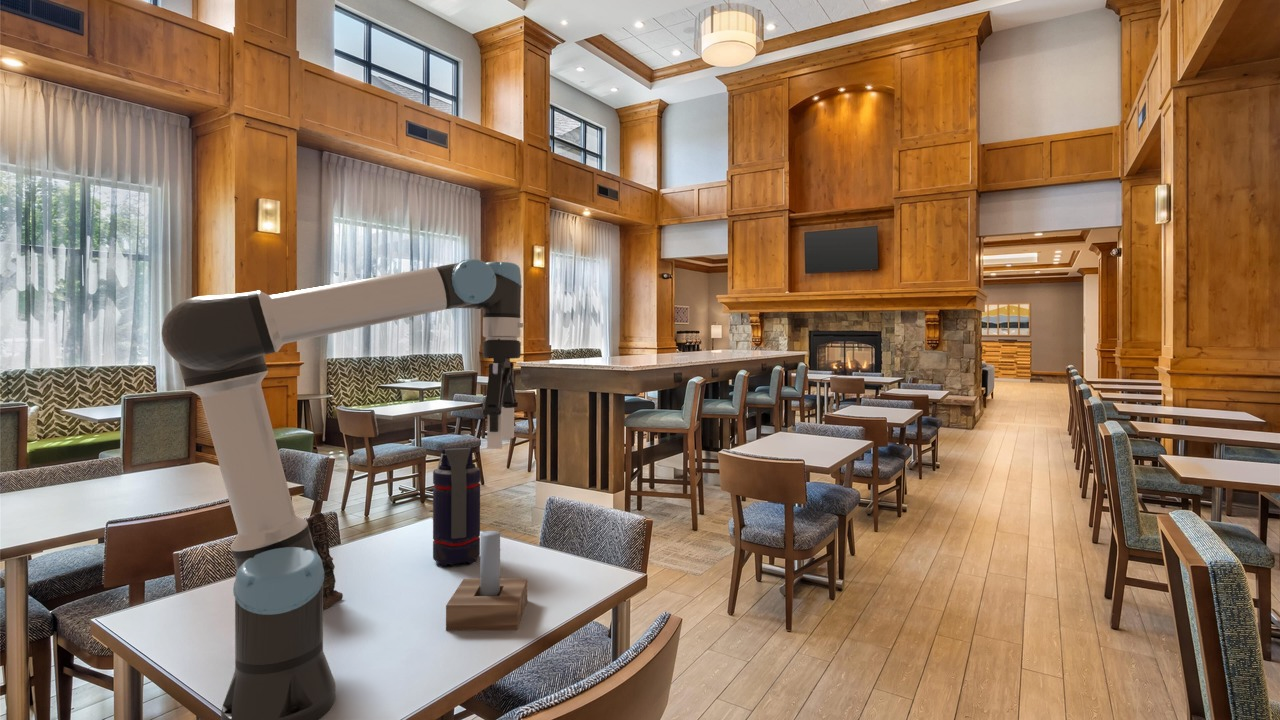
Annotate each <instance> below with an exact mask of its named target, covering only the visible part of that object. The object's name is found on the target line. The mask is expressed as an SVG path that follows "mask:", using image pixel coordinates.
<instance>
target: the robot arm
mask: <svg viewBox="0 0 1280 720" xmlns="http://www.w3.org/2000/svg"><path fill="white" fill-rule="evenodd" d="M520 268H521V267H520V266H519V264H516V263H513V262H509V261H489V262H485V261H484V260H480V259H476V258H470V259H463V260H461V261H460V262H457V263H456V262H455V263H449V264H444V265H440V266H436V267H435V266H432V267H426V268H421V269H415V270H409V271H404V272H397V273H392V274H391V273H390V274H387V275H381V276H374V277H371V278H364V279H357V280H352V281H347V282H341V283H334V284H329V285H323V286H317V287H311V288H305V289H301V290H300V289H299V290H294V291H287V292H283V293H282V292H281V293H277V294H267V293H265V292H263V291H261V290H254V291H248V292H241V293H232V294H217V295H216V294H213V295H211V294H210V295H209V294H208V295H199V296H194V297H191V298H186V299H185V300H183V301H181V302H178V304H176V305H175V306H174V307H172V309H171V310H170V311H168V313H167V315H166V316H165V318H164V320H163V323H162V325H161V340H162V343H163V347H164V348H165V350H166V351H167V353H168V354H169V356H171V358H172V359H174V360H175V361H176V362H177V363H178V366H179V368H180V369H179V370H180V372H181V376H182V380H183V382H184V386H185V389H186V390H188V391H190V392H192V393H194V394H196V395H197V396H198V397H200V401H201V405H202V408H203V411H204V415H205V419H206V422H207V427H208V430H209V432H210V437H211V440H212V445H213V447H214V451H215V454H216V458H217V462H218V465H219V466H218V467H219V469H220V474H221V476H222V479H223V484H224V487H225V491H226V495H227V499H228V501H229V505H230V509H231V512H232V515H233V520H234V522H235V526H236V530H237V535H236V537H235V538H234V540H233V541H232V543H231V545H230V550H231V554H232V558H233V561H234V565H235V568H236V573H235V580H234V583H233V589H232V591H233V596H234V611H235V612H234V621H235V622H234V626H235V627H234V629H235V630H234V631H235V632H234V633H235V634H234V638H235V639H234V640H235V641H234V643H235V645H234V648H235V651H234V652H235V654H234V655H235V656H234V657H235V660H234V661H235V662H234V663H235V664H234V665H235V666H234V667H235V668H234V673H233V676H232V678H231V681H230V683H229V686H228V690H227V692H226V695H225V698H224V701H223V704H222V706H221V711H220V715H221V716H220V720H319V719H321V717H323V716H324V715H325V714H327V712H328V711H330V709H331V708H332V707H333V705H334V704H335V700H336V681H335V678H334V675H333V673H332V671H331V668H330V666H329V663H328V660H327V657H326V655H325V652H324V610H323V581H324V569H323V565H322V560H321V558H320V556H319V555H318V552H317V550H316V548H315V547H314V544H313V541H312V537H311V533H310V530H309V526H308V523H307V521H306V520H307V519H304V518H302V517H300V516H297V515H296V512H295V509H294V505H293V501H292V497H291V493H290V490H289V487H288V483H287V478H286V475H285V472H284V467H283V463H282V459H281V457H280V452H279V449H278V445H277V441H276V436H275V433H274V430H273V425H272V422H271V419H270V414H269V411H268V407H267V403H266V399H265V396H264V391H263V388H262V381H263V380H264V378H266V375H268V374H269V370H268V367H267V362H266V357H265V355H270V354H274V353H278V352H279V351H280V350H281V348H282V347H283V345H285V344H289V343H294V342H298V341H304V340H309V339H312V338H317V337H322V336H327V335H332V334H337V333H341V332H345V331H347V332H348V331H351V330H356V329H361V328H365V327H369V326H374V325H377V324H384V323H388V322H393V321H398V320H402V319H406V318H411V317H417V316H421V315H422V316H423V315H425V314H431V313H435V312H439V311H444V310H450V309H475V310H480V309H481V310H482V337H483V338H485V339H483V342H482V356H483V358H484V359H493V360H492V361H493V362H492V363H489V364H488V378H487V379H488V380H487V388H486V396H485V406H484V409H483V410H482V414H483V416H487V417H486V418H487V421H486V422H487V427H486V430H487V433H486V434H487V436H486V439H487V440H486V441H487V443H486V445H487V447H486V448H487V449H488V450H490V449H491V450H492V449H494V450H495V449H499V450H502V449H503V439H514V438H515V408H518V406H519V403H518V402H517V399H516V388H515V387H516V386H515V376H514V374H515V373H514V366H515V365H514V362H513V361H511V359H513V360H514V359H520V358H521V355H522V354H521V353H522V352H521V351H522V350H521V349H522V348H521V347H522V345H521V343H522V342H520V340H518V338H519V339H520V337H521V328H523V327H524V326H525V325H524V323H523V322H521V315H522V314H521V307H522V305H521V304H522V288H523V285H522V275H521V269H520Z"/></svg>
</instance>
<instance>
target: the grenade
mask: <svg viewBox="0 0 1280 720" xmlns="http://www.w3.org/2000/svg"><path fill="white" fill-rule="evenodd" d="M473 450H474V449H473V447H472V446H454V447H443V448H441V449H440V451H441V453H440V458H439V460H438V464H437V467H436V469H434V470H433V471H432V481H433V482H432V484H433V487H432V539H433V541H432V559H433V560H434V562H436V563H439V564H438V565H439V567H440V568H441V567H442V568H448V567H447V566H448V565H449V564H451V565H453V564H461V563H468V565H471V564H472V563H473V564H474V562H475V563H476V559H477V558H478V557H480V556H481V483H480V482H481V468H480V467H478V466H476V464H475V463H474V462H473V455H474V453H473V452H474V451H473Z"/></svg>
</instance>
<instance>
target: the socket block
mask: <svg viewBox="0 0 1280 720" xmlns="http://www.w3.org/2000/svg"><path fill="white" fill-rule="evenodd" d="M527 602H528V577H523V578H522V577H519V578H518V577H517V578H516V577H513V578H509V577H508V578H507V577H505V578H504V577H500V595H499V596H480V578H463V579H462V581H461V582H460V583H459V585H458V586H457V588H456V590H455V591H454V593H453V594H452V596H451V597H450V599H449V600H448V602H447V603H446V604H445V631H517V630H518V628H519V625H520V622H521V621H522V620H521V619H522V616H523V614H524V611H525V608H526V605H527Z"/></svg>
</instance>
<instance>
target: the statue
mask: <svg viewBox="0 0 1280 720" xmlns="http://www.w3.org/2000/svg"><path fill="white" fill-rule="evenodd" d="M305 520H306V521H307V523H308V526H309V530H310V533H311V537H312V541H313V544H314V547H315V548H316V550H317V552H318V555H319V556H320V558H321V560H322V565H323V569H324V581H323V611H324V610H325V609H328V608H330V607H332V606H333V605H334V604H336V603H338V602H339V601H341V600H342V599H343V596H344V595H343V593H342V592H339V591H338V590H336V589H335V585H336V577H335V574H334V573H335V572H334V571H335V564H334V562H333V560H334V558H333V557H332V556H331V554H330V541H329V538H330V532H329V528H328V522H327V520H326V518H325V515H324V513H322V512H318V513H317V512H314V513H313V514H311V516H309V517H308V518H307V519H305Z"/></svg>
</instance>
